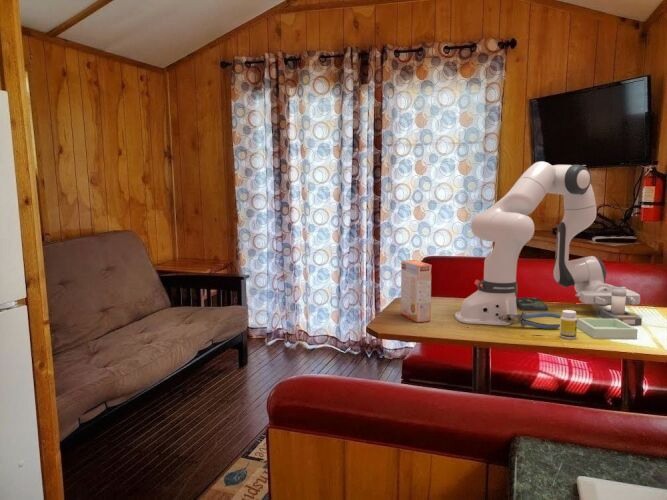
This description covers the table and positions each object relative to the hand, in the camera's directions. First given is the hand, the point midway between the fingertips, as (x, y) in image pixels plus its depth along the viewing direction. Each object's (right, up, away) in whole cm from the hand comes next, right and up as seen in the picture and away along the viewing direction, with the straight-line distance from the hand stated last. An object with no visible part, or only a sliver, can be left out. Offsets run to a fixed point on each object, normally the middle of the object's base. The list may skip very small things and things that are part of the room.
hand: (619, 302), depth 178 cm
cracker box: (-72, -7, +7) cm, 72 cm away
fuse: (0, -6, +2) cm, 7 cm away
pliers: (-35, -8, -8) cm, 37 cm away
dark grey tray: (0, -7, 0) cm, 7 cm away
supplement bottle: (-27, -9, -19) cm, 34 cm away
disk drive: (-23, -5, +23) cm, 33 cm away
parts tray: (-13, -8, -15) cm, 21 cm away
